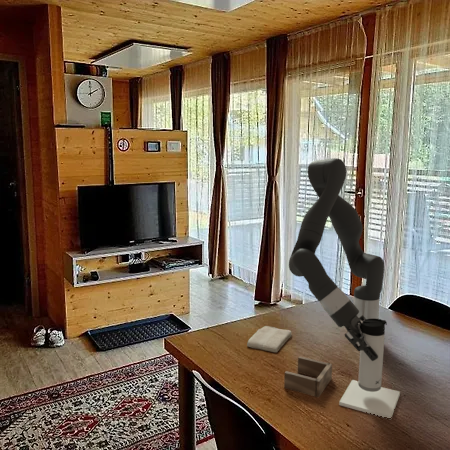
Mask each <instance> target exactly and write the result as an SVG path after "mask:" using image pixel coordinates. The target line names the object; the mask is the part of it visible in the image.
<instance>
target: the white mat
mask: <svg viewBox="0 0 450 450" xmlns="http://www.w3.org/2000/svg"><path fill="white" fill-rule="evenodd" d="M400 395H401V391H399V390H396V389H395V390H394V389H391V388H387V387H383V386H381V389H380V390H379V391H375V392H370V391H366V390H363V389H362V388H360V387H359V385H358V380H355V379H351V381H350V383H349V384H348V386H347V388H346V390H345V391H344V393H343V395H342V397H341V398H340V399H339V403H338V405H339V406H341V407H345V408H348V409H349V408H350V409H352V410H356V411H360V412H363V413H366V412H367V413H366V414H370V413H371V414H370V415H373V414H375V415H374V416H377V415H378V416H377V417H380V416H382V417H381V418H384V417H387V418H391V417H392V418H393V415H394V412H395V410H394V409H396V406H397V404H398V402H399V401H398V400H399V398H400ZM387 418H386V419H387ZM392 418H391V419H392Z"/></svg>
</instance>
